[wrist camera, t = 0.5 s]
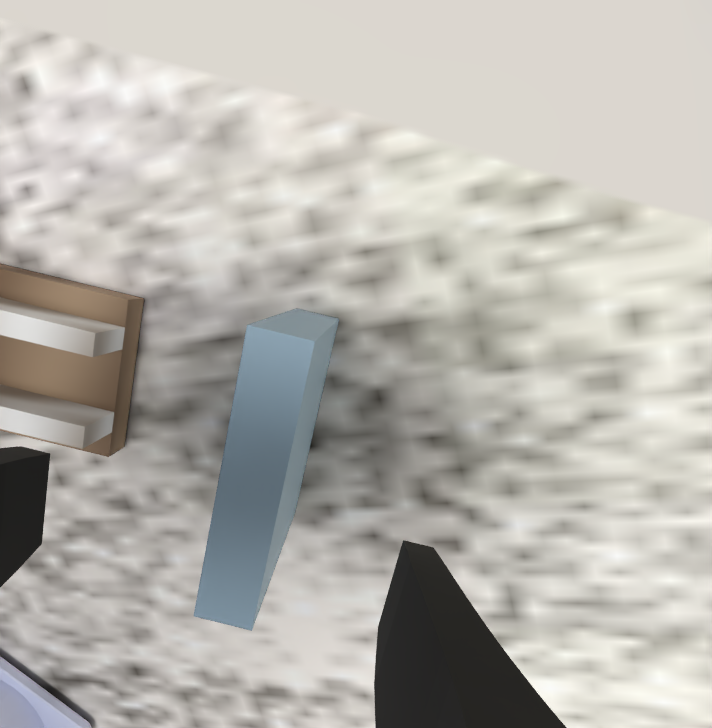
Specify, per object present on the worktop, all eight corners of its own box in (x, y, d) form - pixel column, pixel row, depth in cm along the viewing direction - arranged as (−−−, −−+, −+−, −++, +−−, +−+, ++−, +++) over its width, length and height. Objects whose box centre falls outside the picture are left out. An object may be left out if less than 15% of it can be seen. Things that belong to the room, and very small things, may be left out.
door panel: (295, 511, 17) (252, 630, 11) (257, 501, 17) (193, 616, 11) (339, 318, 16) (314, 341, 10) (297, 308, 16) (247, 324, 10)
